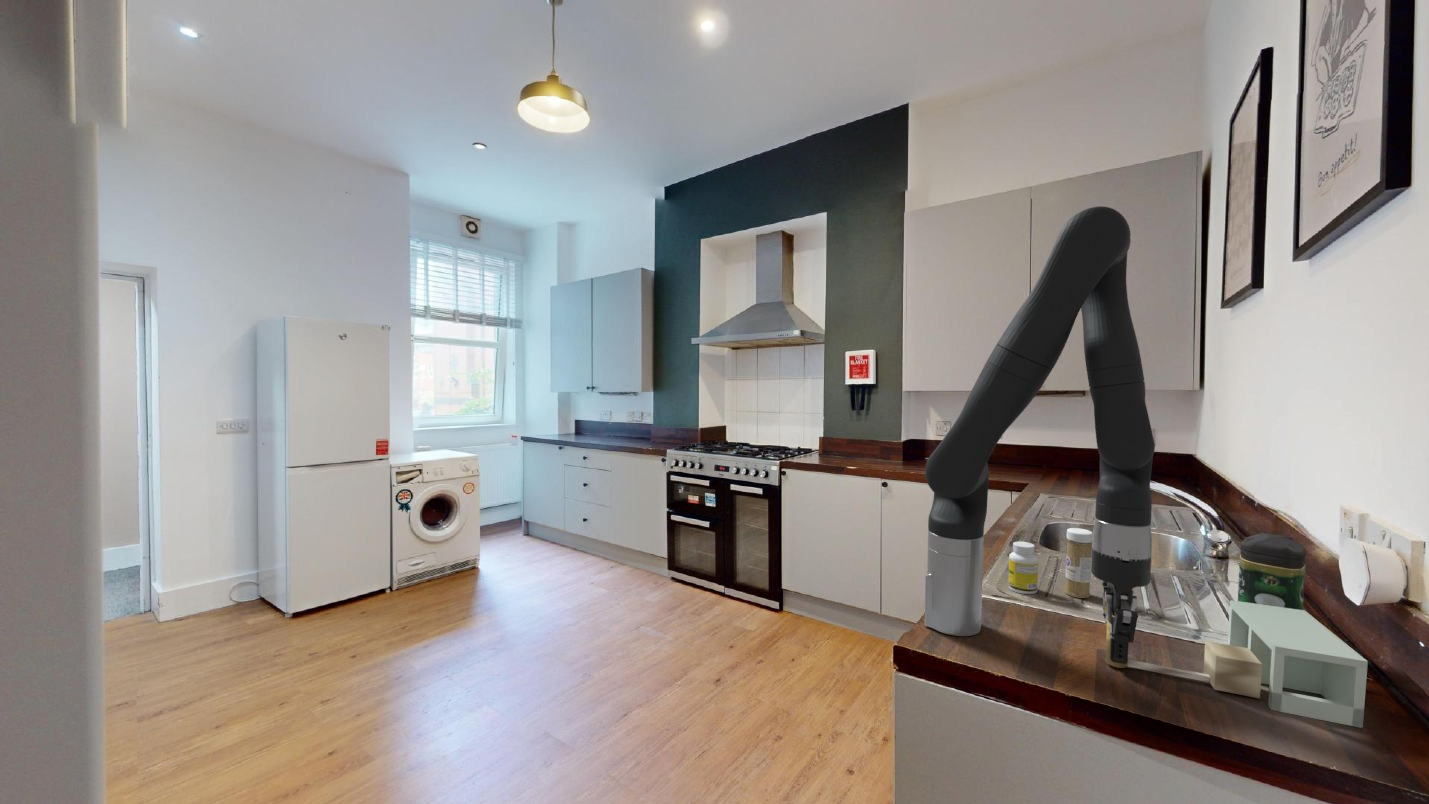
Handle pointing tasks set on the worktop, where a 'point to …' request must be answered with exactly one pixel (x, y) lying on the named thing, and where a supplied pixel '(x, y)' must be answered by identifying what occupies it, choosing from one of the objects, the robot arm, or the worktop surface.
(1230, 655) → the block
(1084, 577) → the spice jar
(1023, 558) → the supplement bottle
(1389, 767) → the worktop surface
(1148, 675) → the worktop surface
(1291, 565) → the coffee jar
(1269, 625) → the shelf cubby
